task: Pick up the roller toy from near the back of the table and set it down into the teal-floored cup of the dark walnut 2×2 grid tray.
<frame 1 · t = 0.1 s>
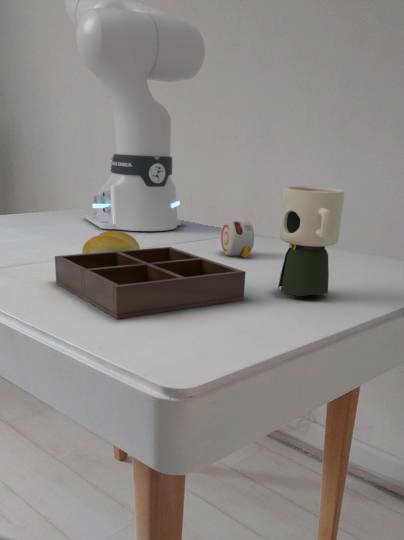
grid: (147, 291, 70), on the table
roller toy: (236, 256, 94), on the table
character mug: (302, 296, 72), on the table
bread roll: (111, 259, 88), on the table
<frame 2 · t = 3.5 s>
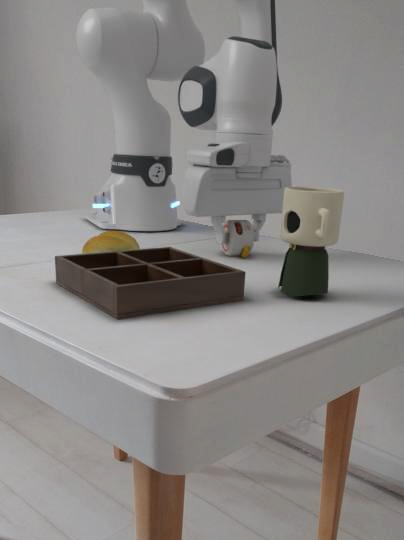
hand: (237, 242, 94), 2 cm above the table, tool pointing down, fingers closed on roller toy, 5 cm apart
roller toy: (236, 256, 94), on the table, touching gripper
everything else where it was.
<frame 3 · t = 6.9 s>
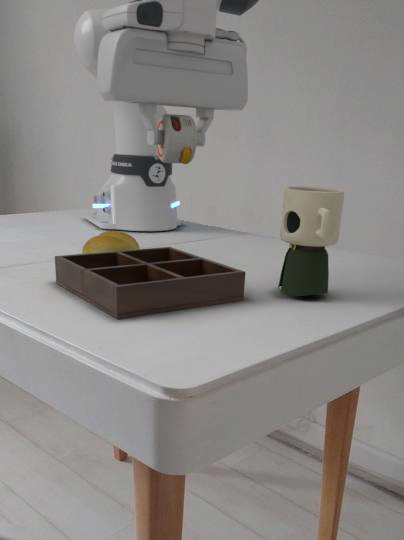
hand: (176, 145, 72), 17 cm above the table, tool pointing down, fingers closed on roller toy, 5 cm apart
roller toy: (175, 164, 73), point 15 cm above the table, touching gripper
everything else where it was.
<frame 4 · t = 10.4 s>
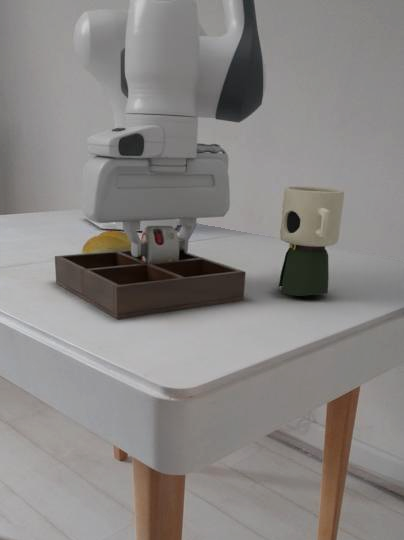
hand: (159, 254, 74), 4 cm above the table, tool pointing down, fingers closed on roller toy, 5 cm apart
roller toy: (159, 271, 75), point 1 cm above the table, touching gripper
everything else where it was.
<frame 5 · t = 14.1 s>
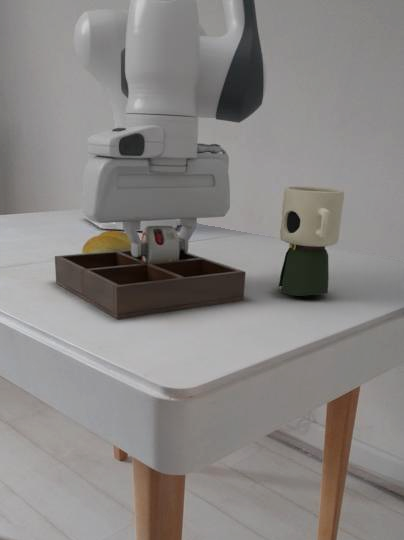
hand: (159, 254, 74), 4 cm above the table, tool pointing down, fingers closed on roller toy, 5 cm apart
roller toy: (159, 271, 75), point 1 cm above the table, touching gripper
everything else where it was.
when the fingers open (5 cm above the table, at t = 17.4 s): roller toy drops 2 cm, resting on grid.
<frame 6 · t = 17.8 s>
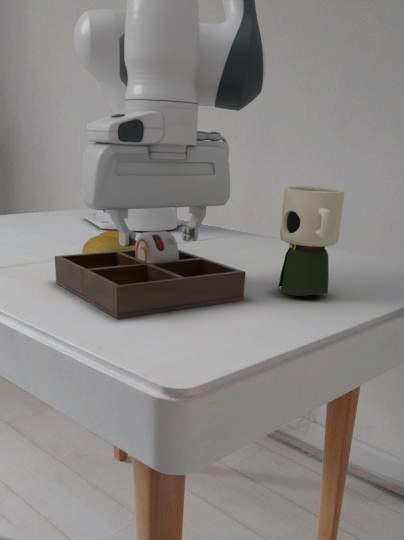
hand: (159, 243, 74), 5 cm above the table, tool pointing down, fingers open, 8 cm apart
roller toy: (156, 277, 75), point 1 cm above the table, touching grid
everything else where it was.
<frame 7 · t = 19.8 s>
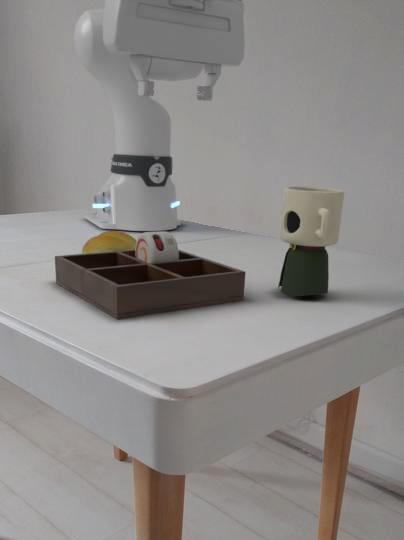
hand: (176, 98, 77), 23 cm above the table, tool pointing down, fingers open, 8 cm apart
nothing on the table moved.
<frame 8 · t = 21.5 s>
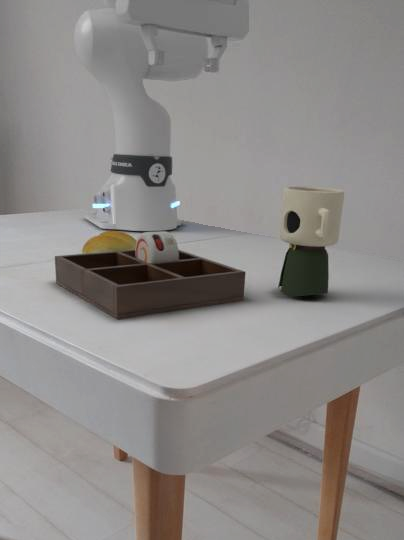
hand: (184, 68, 80), 27 cm above the table, tool pointing down, fingers open, 8 cm apart
nothing on the table moved.
at the end: roller toy inside the target area in the grid (0.4 cm from its centre), point 0.5 cm above the grid's base; the gripper is holding nothing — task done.
